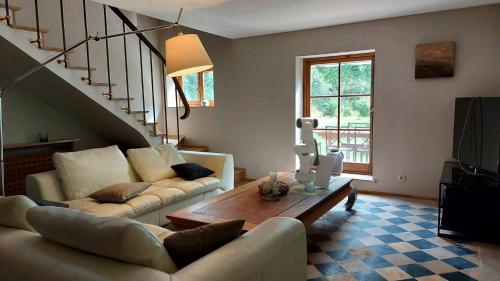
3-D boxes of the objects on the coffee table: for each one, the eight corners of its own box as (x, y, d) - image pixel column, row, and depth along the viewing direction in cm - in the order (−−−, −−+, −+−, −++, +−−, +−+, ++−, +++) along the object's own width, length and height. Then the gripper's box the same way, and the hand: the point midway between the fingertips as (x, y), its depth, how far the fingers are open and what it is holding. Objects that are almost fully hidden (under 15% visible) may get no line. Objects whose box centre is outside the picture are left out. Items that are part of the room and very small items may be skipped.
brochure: (327, 187, 333) (333, 157, 329) (328, 188, 328) (334, 158, 324) (312, 184, 334) (319, 154, 330) (313, 185, 329) (319, 155, 325)
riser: (299, 187, 334) (298, 183, 334) (310, 189, 327) (310, 185, 327) (289, 192, 320) (289, 187, 319) (301, 193, 313) (301, 189, 312)
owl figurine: (284, 199, 297) (283, 179, 295) (276, 202, 287) (275, 182, 285) (266, 196, 308) (266, 177, 306) (258, 199, 299) (258, 179, 297)
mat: (311, 189, 328) (311, 188, 328) (323, 190, 321) (323, 190, 321) (302, 194, 311) (302, 193, 311) (314, 195, 305) (314, 195, 304)
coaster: (308, 185, 323) (309, 183, 322) (315, 191, 319) (316, 188, 318) (304, 187, 316) (305, 185, 315) (311, 192, 313) (312, 190, 311)
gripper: (317, 171, 315) (317, 186, 316) (297, 169, 327) (297, 183, 328) (314, 172, 310) (314, 187, 311) (293, 170, 322) (294, 184, 323)
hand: (305, 185), depth 320 cm, fingers closed
